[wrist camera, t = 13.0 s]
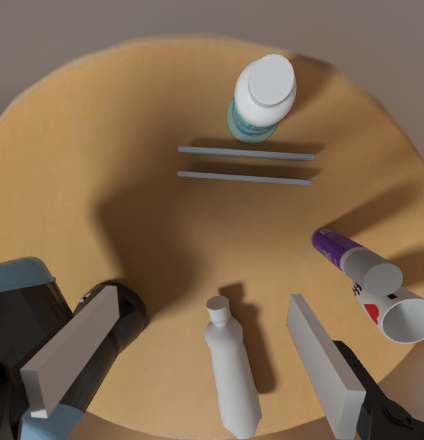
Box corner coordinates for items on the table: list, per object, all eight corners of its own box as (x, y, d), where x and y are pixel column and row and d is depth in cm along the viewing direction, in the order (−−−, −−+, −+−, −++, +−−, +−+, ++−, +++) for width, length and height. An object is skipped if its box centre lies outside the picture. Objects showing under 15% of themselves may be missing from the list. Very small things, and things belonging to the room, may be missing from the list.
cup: (359, 260, 38) (403, 290, 29) (395, 277, 39) (452, 312, 29) (335, 293, 40) (370, 331, 31) (370, 308, 41) (415, 351, 31)
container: (305, 242, 38) (353, 284, 24) (321, 222, 37) (381, 254, 23) (325, 254, 39) (384, 303, 24) (341, 235, 37) (413, 275, 23)
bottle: (269, 410, 45) (248, 294, 39) (251, 456, 38) (222, 324, 33) (236, 389, 51) (213, 286, 45) (215, 426, 44) (185, 310, 38)
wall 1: (183, 153, 36) (178, 151, 32) (183, 148, 36) (178, 146, 32) (304, 161, 35) (314, 159, 31) (305, 156, 35) (315, 154, 31)
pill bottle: (224, 128, 34) (223, 100, 21) (243, 83, 33) (255, 23, 19) (263, 146, 35) (285, 129, 21) (283, 103, 33) (322, 56, 20)
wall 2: (182, 175, 37) (177, 175, 33) (182, 171, 37) (177, 171, 33) (300, 183, 36) (309, 185, 32) (301, 179, 36) (310, 180, 32)
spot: (224, 142, 35) (224, 141, 35) (229, 85, 33) (229, 84, 33) (275, 145, 35) (275, 145, 34) (283, 87, 32) (283, 87, 32)
